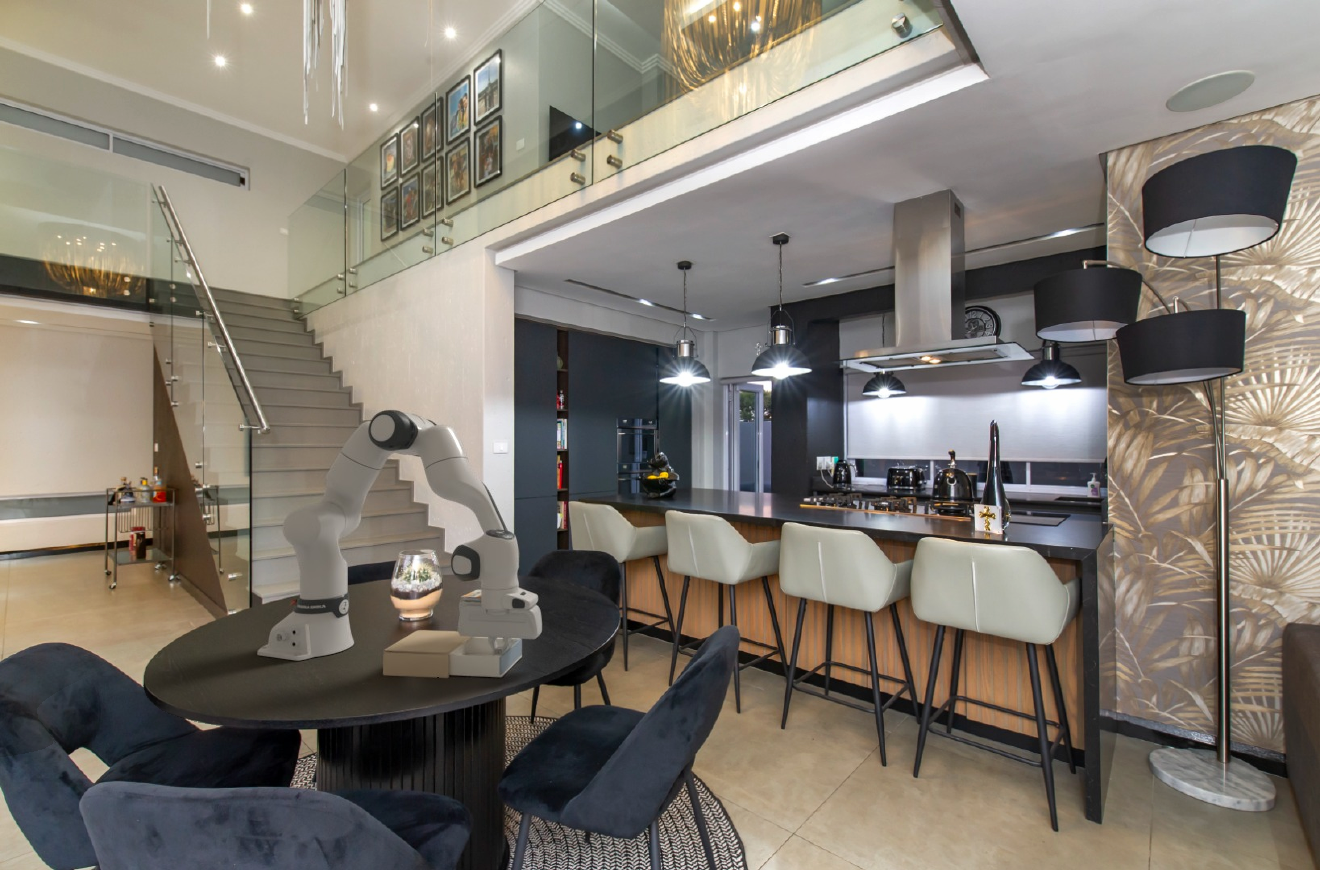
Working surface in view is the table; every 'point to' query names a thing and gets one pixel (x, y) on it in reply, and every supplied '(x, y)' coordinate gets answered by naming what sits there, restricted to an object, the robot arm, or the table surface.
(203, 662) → the table surface
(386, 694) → the table surface
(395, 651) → the mailer sleeve
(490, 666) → the tray
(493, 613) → the robot arm
